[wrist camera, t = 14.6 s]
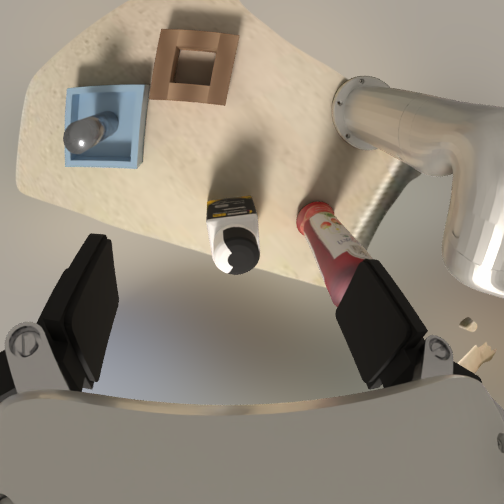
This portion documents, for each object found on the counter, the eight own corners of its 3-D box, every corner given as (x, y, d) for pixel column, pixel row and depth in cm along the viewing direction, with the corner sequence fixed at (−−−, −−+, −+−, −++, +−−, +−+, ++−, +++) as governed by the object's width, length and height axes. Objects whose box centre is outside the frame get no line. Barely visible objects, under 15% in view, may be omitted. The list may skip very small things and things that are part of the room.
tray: (150, 84, 32) (144, 84, 29) (142, 162, 38) (137, 168, 35) (77, 87, 29) (67, 88, 26) (74, 160, 36) (65, 166, 33)
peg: (120, 110, 32) (92, 120, 24) (118, 136, 34) (91, 154, 26) (95, 111, 31) (63, 121, 23) (94, 136, 33) (63, 154, 25)
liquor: (287, 230, 48) (346, 368, 25) (302, 192, 45) (386, 320, 22) (323, 238, 50) (394, 364, 27) (339, 203, 46) (432, 321, 24)
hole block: (237, 40, 30) (239, 35, 26) (224, 103, 35) (225, 105, 32) (166, 34, 28) (161, 29, 24) (155, 97, 33) (149, 99, 30)
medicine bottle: (251, 194, 44) (263, 232, 34) (254, 233, 48) (265, 277, 38) (206, 200, 43) (205, 239, 33) (212, 238, 47) (213, 284, 38)
